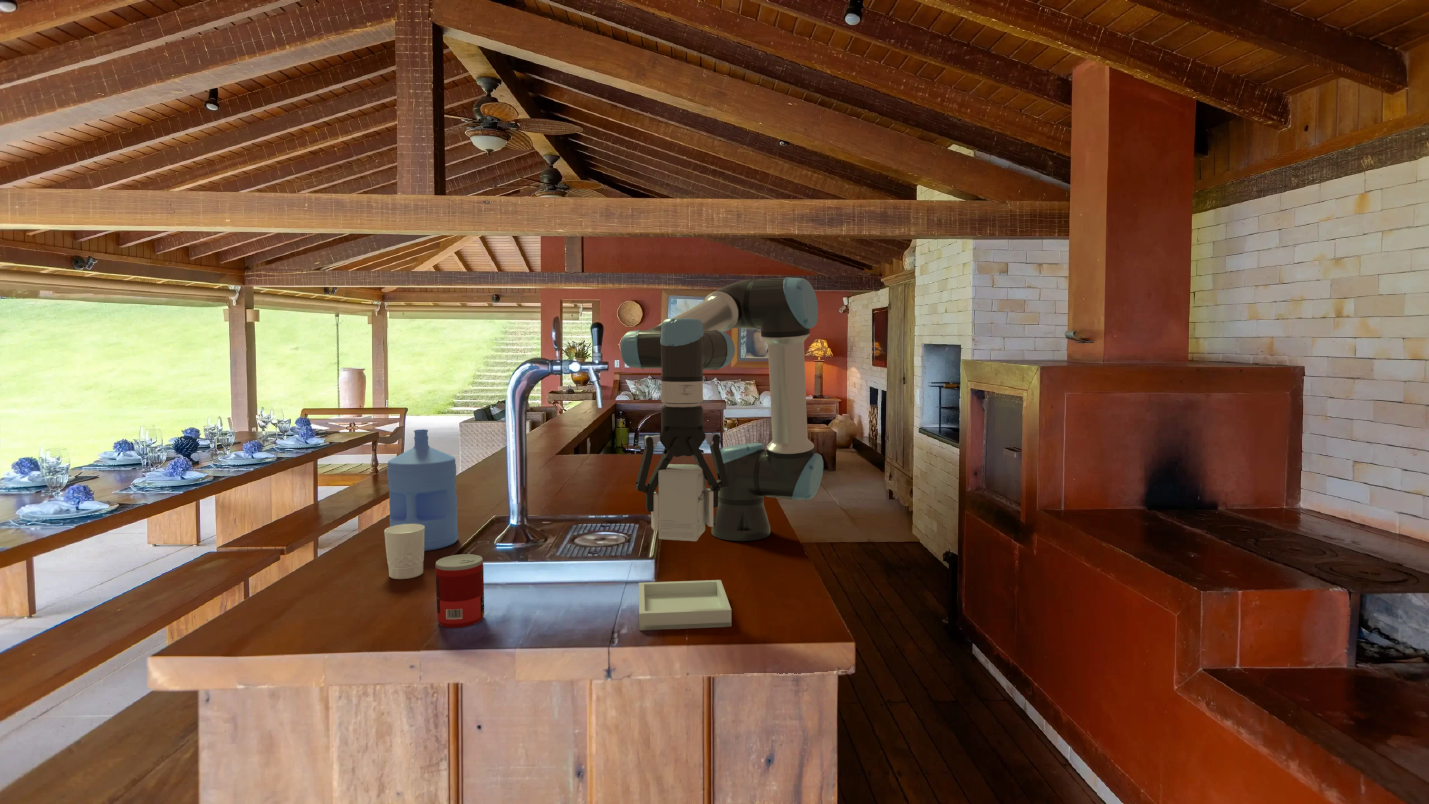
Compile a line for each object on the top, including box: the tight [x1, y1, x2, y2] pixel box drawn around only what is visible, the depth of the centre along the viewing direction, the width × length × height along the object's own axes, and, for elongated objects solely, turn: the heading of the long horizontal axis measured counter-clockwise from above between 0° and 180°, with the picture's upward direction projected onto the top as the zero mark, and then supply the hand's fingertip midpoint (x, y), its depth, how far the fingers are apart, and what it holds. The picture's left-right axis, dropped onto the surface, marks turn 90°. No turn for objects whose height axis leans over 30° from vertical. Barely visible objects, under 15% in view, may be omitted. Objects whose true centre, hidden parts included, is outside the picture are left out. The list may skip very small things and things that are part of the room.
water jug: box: [386, 428, 459, 552], centre depth 178 cm, size 16×16×28 cm
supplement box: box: [657, 463, 706, 542], centre depth 133 cm, size 7×7×13 cm
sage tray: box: [638, 579, 732, 631], centre depth 134 cm, size 16×16×3 cm
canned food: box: [435, 553, 485, 629], centre depth 130 cm, size 8×8×11 cm
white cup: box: [383, 524, 425, 580], centre depth 155 cm, size 8×8×10 cm
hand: (682, 526), depth 133 cm, fingers closed on supplement box, 9 cm apart
